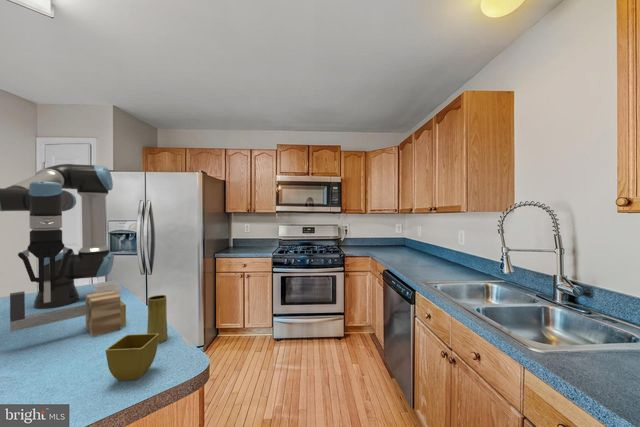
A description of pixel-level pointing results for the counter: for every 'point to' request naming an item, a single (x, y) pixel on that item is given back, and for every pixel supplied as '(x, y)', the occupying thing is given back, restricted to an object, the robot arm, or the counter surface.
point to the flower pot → (132, 356)
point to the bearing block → (103, 312)
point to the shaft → (23, 322)
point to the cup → (108, 287)
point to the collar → (123, 313)
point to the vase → (157, 317)
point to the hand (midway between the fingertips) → (47, 301)
